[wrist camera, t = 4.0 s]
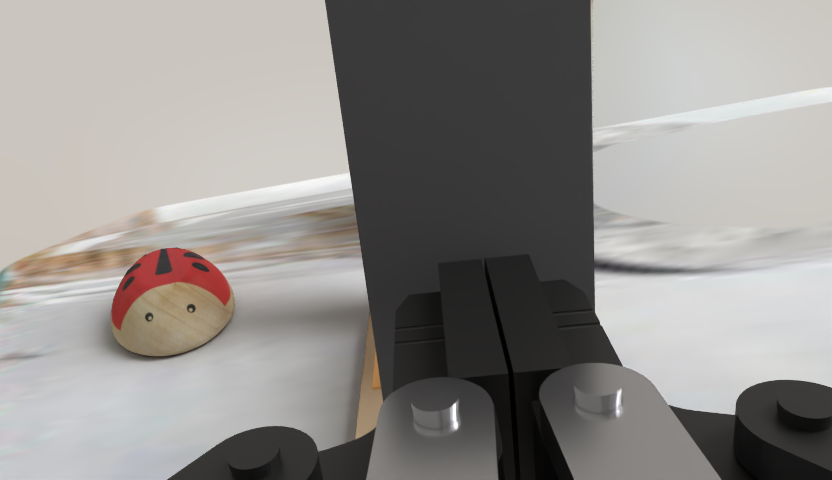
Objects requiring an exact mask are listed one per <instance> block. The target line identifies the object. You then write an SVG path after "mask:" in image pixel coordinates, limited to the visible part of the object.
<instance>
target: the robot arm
mask: <svg viewBox="0 0 832 480" xmlns="http://www.w3.org/2000/svg"><path fill="white" fill-rule="evenodd" d="M438 270H439V281H440V291H441V292H431V293H421V294H411V295H408V296H407V298H406V299H405V300H404V301H403V302H402V304H401V305H400V306H399V307H398V309H397V310H396V315H395V340H394V343H395V346H394V366H393V391H392V394H390V395H389V396H388V397H387V398H386V399H385V401H384V402H383V404H382V405H381V408H380V411H379V415H378V420H377V425H376V427H375V428H374V429H373V430H372V431H370V432H368V433H367V434H365V435H364V436H362V437H360V438H358V439H355V440H353V441H351V442H348V443H345V444H342V445H339V446H336V447H333V448H330V449H327V450H323V451H320V452H318V450H317V447H316V444H315V442H314V441H313V439H312V438H311V437H310V436H308V435H307V434H306V433H304V432H302V431H300V430H297V429H294V428H290V427H283V426H269V427H261V428H255V429H252V430H248V431H244V432H242V433H239V434H236V435H234V436H232V437H230V438H228V439H226V440H224V441H223V442H221V443H220V444H218V445H216V446H215V447H214V448H212V449H211V450H209V451H208V452H206V453H205V454H203V455H202V456H201V457H199V458H198V459H196V460H195V461H193V462H192V463H190V464H189V465H188V466H186V467H185V468H183V469H182V470H180V471H179V472H178V473H176V474H175V475H173V476H172V477H170V478H169V479H167V480H832V388H831V387H827V386H824V385H820V384H816V383H812V382H805V381H797V380H775V381H767V382H763V383H759V384H756V385H754V386H751V387H749V388H748V389H746V390H745V391H743V392H742V394H741V395H740V396H739V397H738V399H737V402H736V411H735V415H729V414H719V413H710V412H701V411H693V410H686V409H682V408H677V407H673V406H670V405H668V404H667V403H666V401H665V400H664V399H663V397H662V396H661V394H660V393H659V392H658V390H657V389H656V387H655V386H654V385H653V384H652V383H651V381H650V380H648V379H647V378H646V377H644V376H643V375H641V374H639V373H638V372H636V371H633V370H631V369H628V368H625V367H623V366H622V364H621V362H620V360H619V358H618V356H617V354H616V352H615V350H614V348H613V346H612V345H611V343H610V341H609V339H608V337H607V335H606V333H605V331H604V329H603V327H602V326H600V322H599V320H598V318H597V316H596V314H595V312H593V308H592V306H591V304H590V302H589V300H588V299H587V297H586V295H585V293H584V292H583V291H582V290H580V289H579V288H577V287H575V286H574V285H572V284H571V283H569V282H567V281H566V280H564V279H561V280H551V281H541V282H540V281H539V279H538V276H537V274H536V271H535V269H534V266H533V264H532V261H531V259H530V256H529V254H522V255H512V256H502V257H492V258H484V269H483V265H482V260H481V259H473V260H463V261H453V262H443V263H438ZM484 272H485V273H484Z"/></svg>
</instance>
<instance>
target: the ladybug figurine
mask: <svg viewBox="0 0 832 480" xmlns="http://www.w3.org/2000/svg"><path fill="white" fill-rule="evenodd" d="M234 306H235V300H234V294H233V291H232V289H231V287H230V285H229V283H228V282H227V280H226V278H225V277H224V276H223V274H222V273H221V272H220V271H219V270H218V268H216V267H215V266H214V265H213V264H212V263H210V262H209V261H208V260H206V259H205V258H203V257H201V256H200V255H198V254H196V253H193V252H191V251H188V250H185V249H180V248H166V249H160V250H157V251H154V252H152V253H149V254H147V255H144V256H143V257H142V258H140V259H139V260H138V261H137V262H136V263H135V264H134V265H133V266H132V267H131V268H130V269H129V270H128V271H127V272H126V274H125V276H124V278H123V279H122V281H121V283H120V285H119V287H118V289H117V291H116V294H115V296H114V299H113V304H112V311H111V327H112V331H113V334H114V336H115V338H116V340H117V341H118V342H119V343H120V344H121V345H122V346H123V347H124V348H126V349H127V350H129V351H131V352H134V353H137V354H141V355H147V356H169V355H175V354H180V353H184V352H187V351H190V350H192V349H195V348H197V347H199V346H201V345H203V344H205V343H206V342H208V341H209V340H211V339H212V338H213V337H214V336H216V335H217V334H218V333H219V332H220V331H221V330H222V329H223V328H224V327H225V326H226V324H227V323H228V322H229V320H230V318H231V316H232V314H233V311H234Z"/></svg>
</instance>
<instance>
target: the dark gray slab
mask: <svg viewBox="0 0 832 480" xmlns="http://www.w3.org/2000/svg"><path fill="white" fill-rule="evenodd" d="M325 3H326V10H327V17H328V24H329V31H330V38H331V45H332V51H333V59H334V65H335V72H336V79H337V86H338V93H339V100H340V107H341V113H342V121H343V127H344V134H345V141H346V148H347V154H348V162H349V169H350V176H351V183H352V190H353V197H354V204H355V211H356V218H357V224H358V231H359V238H360V245H361V252H362V259H363V266H364V273H365V280H366V287H367V294H368V300H369V307H370V314H371V321H372V328H373V335H374V342H375V349H376V356H377V363H378V370H379V376H380V383H381V390H382V397H383V402H384V401H385V399H386V398H387V397H388V396H389V395H390V394H392V391H393V366H394V346H395V343H394V340H395V315H396V310H397V309H398V307H399V306H400V305H401V304H402V302H403V301H404V300H405V299H406V298H407V296H408V295H411V294H421V293H431V292H441V291H440V281H439V270H438V263H443V262H453V261H463V260H473V259H481V260H482V265H483V269H484V258H492V257H502V256H512V255H522V254H529V256H530V259H531V261H532V264H533V266H534V269H535V271H536V274H537V276H538V279H539V281H540V282H541V281H551V280H561V279H564V280H566V281H567V282H569V283H571V284H572V285H574V286H575V287H577V288H579V289H580V290H582V291H583V292H584V293H585V295H586V297H587V299H588V300H589V302H590V304H591V306H592V308H593V312H595V288H594V215H593V143H592V70H591V0H325ZM484 273H485V272H484Z"/></svg>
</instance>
